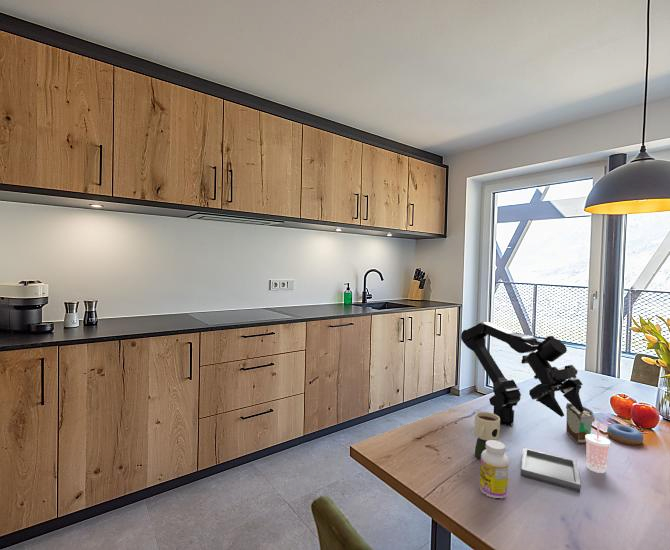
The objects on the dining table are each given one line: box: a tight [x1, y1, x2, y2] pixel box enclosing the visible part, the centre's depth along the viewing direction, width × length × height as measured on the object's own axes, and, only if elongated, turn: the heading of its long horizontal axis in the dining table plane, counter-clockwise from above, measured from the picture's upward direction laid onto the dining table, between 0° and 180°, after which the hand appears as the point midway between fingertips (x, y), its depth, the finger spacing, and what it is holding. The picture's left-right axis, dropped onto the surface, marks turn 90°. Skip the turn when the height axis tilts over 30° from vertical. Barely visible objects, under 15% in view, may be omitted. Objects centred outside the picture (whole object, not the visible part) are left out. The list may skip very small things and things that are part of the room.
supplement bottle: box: [479, 440, 510, 499], centre depth 97 cm, size 7×7×13 cm
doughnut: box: [606, 423, 644, 446], centre depth 129 cm, size 10×10×5 cm
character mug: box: [473, 411, 501, 459], centre depth 114 cm, size 11×7×13 cm, turn 141°
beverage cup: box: [585, 421, 611, 474], centre depth 110 cm, size 6×6×14 cm
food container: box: [565, 402, 596, 445], centre depth 128 cm, size 12×6×10 cm, turn 168°
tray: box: [520, 447, 582, 493], centre depth 108 cm, size 14×14×2 cm
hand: (572, 413), depth 116 cm, fingers open, 9 cm apart
